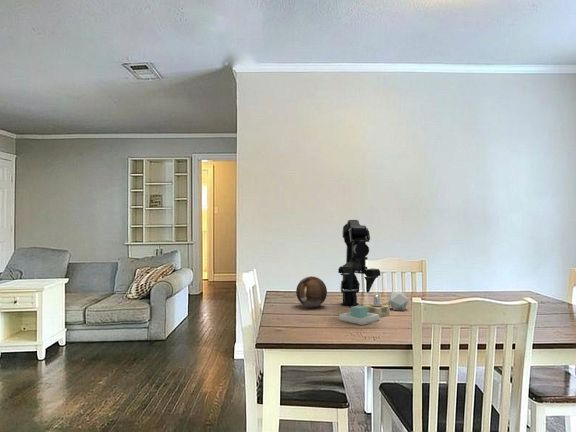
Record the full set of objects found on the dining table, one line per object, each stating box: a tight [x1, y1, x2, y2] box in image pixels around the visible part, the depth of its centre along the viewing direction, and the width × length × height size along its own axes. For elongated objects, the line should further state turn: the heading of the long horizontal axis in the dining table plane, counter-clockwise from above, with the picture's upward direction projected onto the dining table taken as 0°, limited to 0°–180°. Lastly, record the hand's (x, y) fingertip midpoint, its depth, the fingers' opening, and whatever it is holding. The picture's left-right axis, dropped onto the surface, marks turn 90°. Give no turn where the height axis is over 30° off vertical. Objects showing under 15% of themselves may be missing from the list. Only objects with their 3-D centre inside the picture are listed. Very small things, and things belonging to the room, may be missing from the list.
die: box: [387, 291, 409, 311], centre depth 223 cm, size 8×9×10 cm
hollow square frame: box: [363, 303, 390, 319], centre depth 212 cm, size 8×8×4 cm
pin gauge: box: [373, 294, 381, 307], centre depth 212 cm, size 3×3×9 cm
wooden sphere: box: [295, 276, 328, 308], centre depth 230 cm, size 15×15×15 cm
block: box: [350, 305, 367, 318], centre depth 201 cm, size 5×5×5 cm
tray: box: [338, 311, 380, 326], centre depth 201 cm, size 12×12×2 cm
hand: (358, 291), depth 201 cm, fingers open, 9 cm apart
